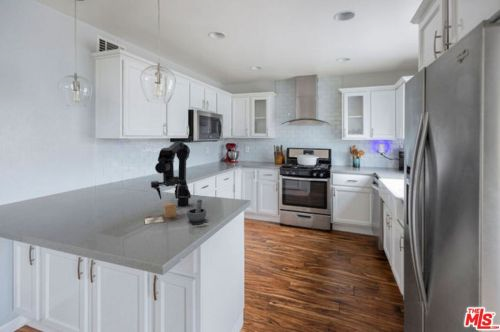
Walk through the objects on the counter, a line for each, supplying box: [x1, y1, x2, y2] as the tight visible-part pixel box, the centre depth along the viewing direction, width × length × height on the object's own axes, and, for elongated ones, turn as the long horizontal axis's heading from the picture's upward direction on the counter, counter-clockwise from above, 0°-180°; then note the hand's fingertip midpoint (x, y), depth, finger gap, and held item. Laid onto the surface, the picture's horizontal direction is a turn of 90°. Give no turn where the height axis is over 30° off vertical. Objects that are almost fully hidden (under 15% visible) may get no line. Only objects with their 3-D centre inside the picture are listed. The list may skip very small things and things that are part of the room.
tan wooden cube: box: [163, 202, 177, 218], centre depth 145 cm, size 6×6×6 cm
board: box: [142, 212, 181, 226], centre depth 140 cm, size 18×14×6 cm
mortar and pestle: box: [186, 199, 207, 227], centre depth 136 cm, size 11×9×12 cm
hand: (169, 198), depth 144 cm, fingers open, 9 cm apart
